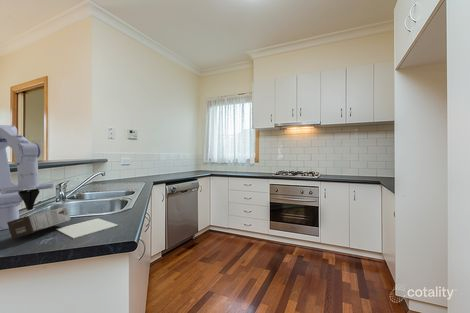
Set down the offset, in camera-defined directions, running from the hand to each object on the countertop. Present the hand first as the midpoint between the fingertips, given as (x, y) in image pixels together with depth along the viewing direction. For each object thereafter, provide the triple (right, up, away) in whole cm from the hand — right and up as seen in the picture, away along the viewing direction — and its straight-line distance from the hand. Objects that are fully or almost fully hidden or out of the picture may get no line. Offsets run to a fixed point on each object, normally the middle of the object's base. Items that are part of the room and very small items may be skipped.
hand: (29, 209), depth 84 cm
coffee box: (+4, -5, +10) cm, 12 cm away
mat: (+18, -9, +6) cm, 21 cm away
